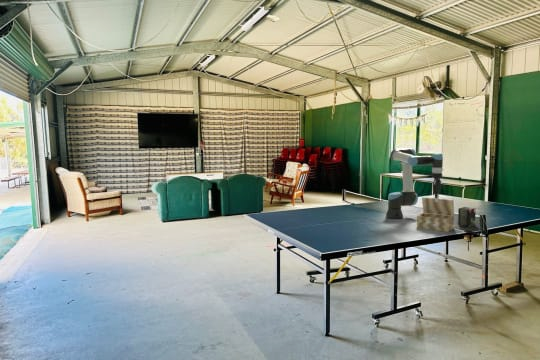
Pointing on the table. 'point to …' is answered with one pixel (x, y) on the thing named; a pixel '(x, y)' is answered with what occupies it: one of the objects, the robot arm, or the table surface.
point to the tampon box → (466, 216)
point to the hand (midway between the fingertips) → (436, 201)
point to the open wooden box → (435, 222)
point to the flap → (438, 206)
